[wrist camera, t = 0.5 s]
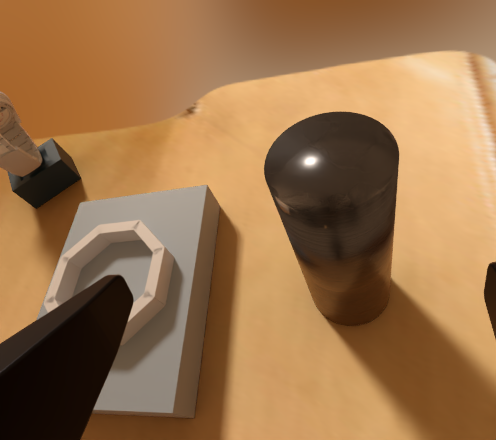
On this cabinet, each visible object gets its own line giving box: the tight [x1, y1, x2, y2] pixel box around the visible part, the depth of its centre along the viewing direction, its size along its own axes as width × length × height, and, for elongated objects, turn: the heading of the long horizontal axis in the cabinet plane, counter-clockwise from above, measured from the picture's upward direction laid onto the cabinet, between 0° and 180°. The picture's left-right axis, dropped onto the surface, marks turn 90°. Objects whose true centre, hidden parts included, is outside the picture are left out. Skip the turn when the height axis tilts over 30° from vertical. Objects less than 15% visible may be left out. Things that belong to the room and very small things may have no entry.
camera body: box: [37, 185, 220, 418], centre depth 27 cm, size 16×12×4 cm
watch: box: [0, 92, 81, 209], centre depth 36 cm, size 6×8×11 cm
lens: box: [264, 112, 399, 326], centre depth 19 cm, size 5×5×13 cm
